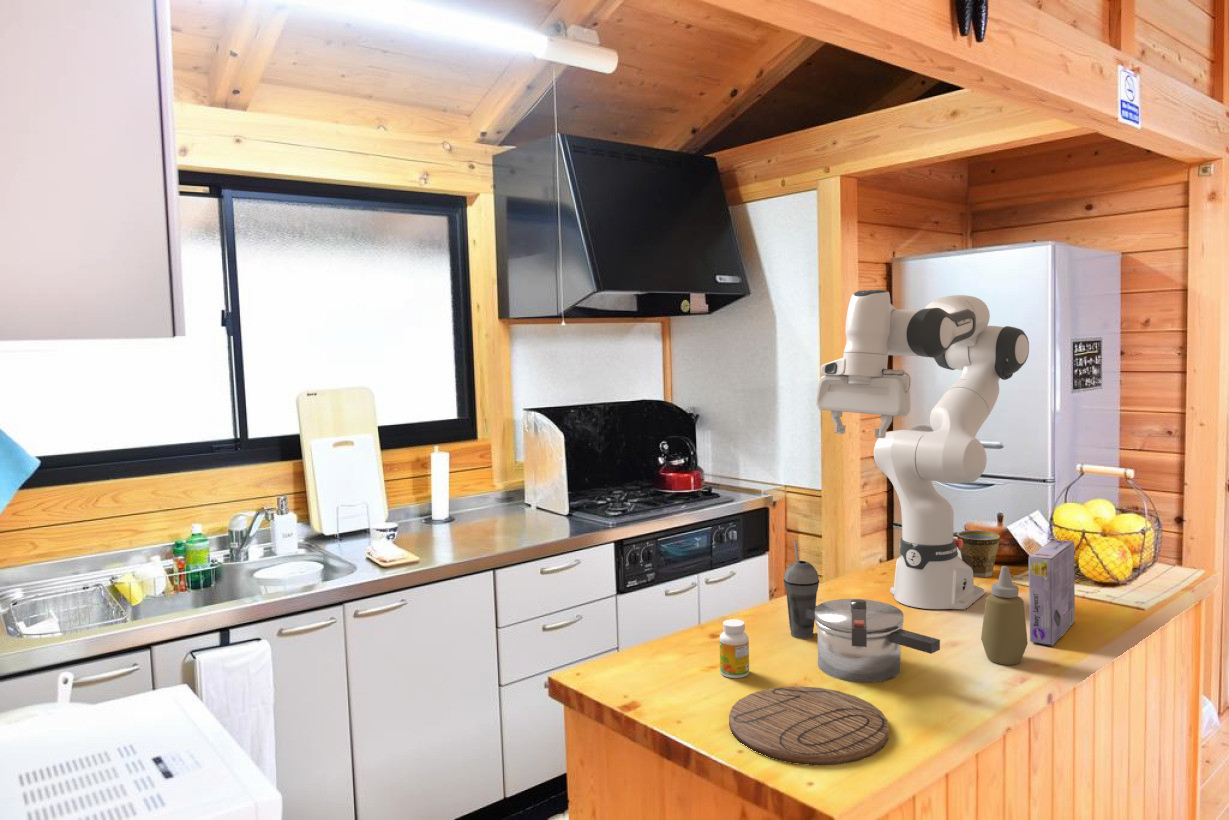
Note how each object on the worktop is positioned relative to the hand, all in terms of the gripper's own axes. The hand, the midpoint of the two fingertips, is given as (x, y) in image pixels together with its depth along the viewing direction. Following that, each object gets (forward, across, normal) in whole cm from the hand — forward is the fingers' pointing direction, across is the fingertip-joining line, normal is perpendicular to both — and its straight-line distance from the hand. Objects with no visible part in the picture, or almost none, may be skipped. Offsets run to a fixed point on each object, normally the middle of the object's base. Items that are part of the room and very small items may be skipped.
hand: (859, 435), depth 183 cm
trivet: (+46, -20, +39) cm, 64 cm away
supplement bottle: (+45, +3, +31) cm, 55 cm away
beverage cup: (+42, +6, +6) cm, 43 cm away
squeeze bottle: (+40, -29, -9) cm, 50 cm away
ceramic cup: (+35, +2, -60) cm, 69 cm away
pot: (+43, -14, +12) cm, 46 cm away
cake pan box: (+38, -29, -30) cm, 56 cm away
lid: (+34, -14, +18) cm, 41 cm away
